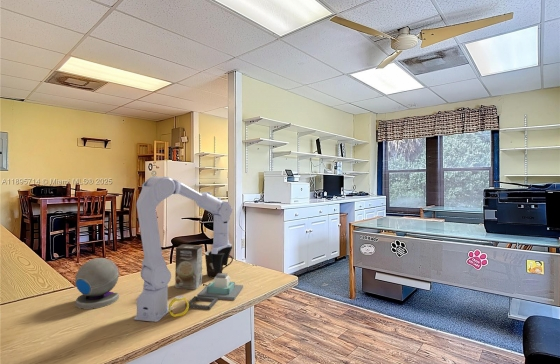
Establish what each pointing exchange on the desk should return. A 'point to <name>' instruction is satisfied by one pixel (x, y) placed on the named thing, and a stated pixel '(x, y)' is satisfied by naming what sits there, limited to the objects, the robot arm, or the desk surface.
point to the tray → (202, 300)
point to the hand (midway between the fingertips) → (220, 268)
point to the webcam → (96, 283)
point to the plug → (222, 280)
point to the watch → (178, 298)
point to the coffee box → (188, 266)
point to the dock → (221, 291)
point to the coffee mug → (210, 266)
